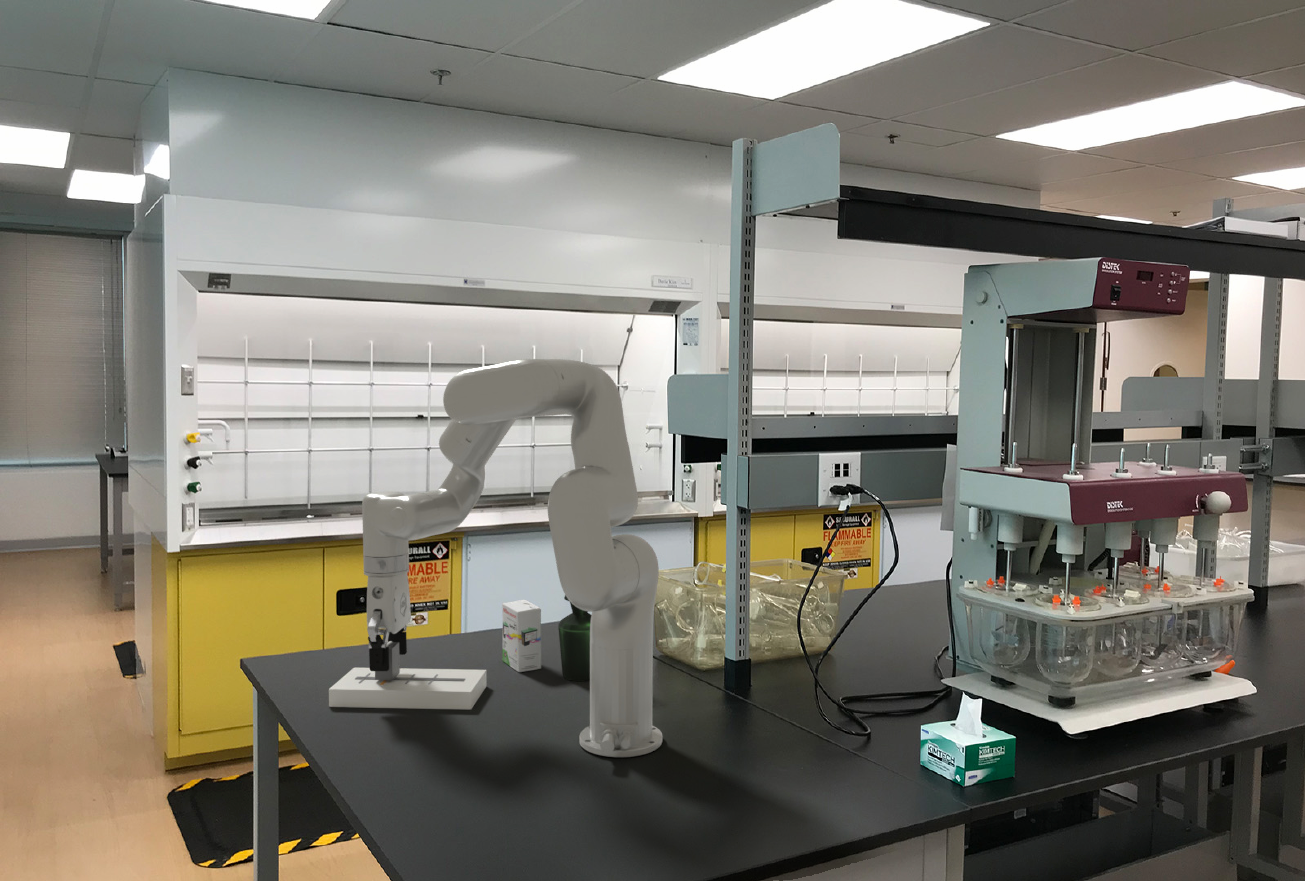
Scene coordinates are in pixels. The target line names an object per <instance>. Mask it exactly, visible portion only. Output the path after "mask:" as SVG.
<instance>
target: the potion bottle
mask: <svg viewBox="0 0 1305 881" xmlns="http://www.w3.org/2000/svg"><path fill="white" fill-rule="evenodd" d="M563 598H564V601H567V602H569V604H570V609H571V612H572V613H570V614H568V615H567V616H565V617H563V618H562V619H561V620H560V621H559V623H558V624H557V629H558V639H559V649H560V650H559V651H560V662H561V673H562V677H563V678H564V679H566V680H569V681H573V682H581V681H582V682H583V681H584V682H585V681H590V623H591V615H592V613H589V611H584V610H581V609H579V608H577V607H576V606H574V605H573V604H572V603H571V602H570V601H569V600H568V598H567V597H566V595H565V594H564V597H563Z"/></svg>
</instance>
